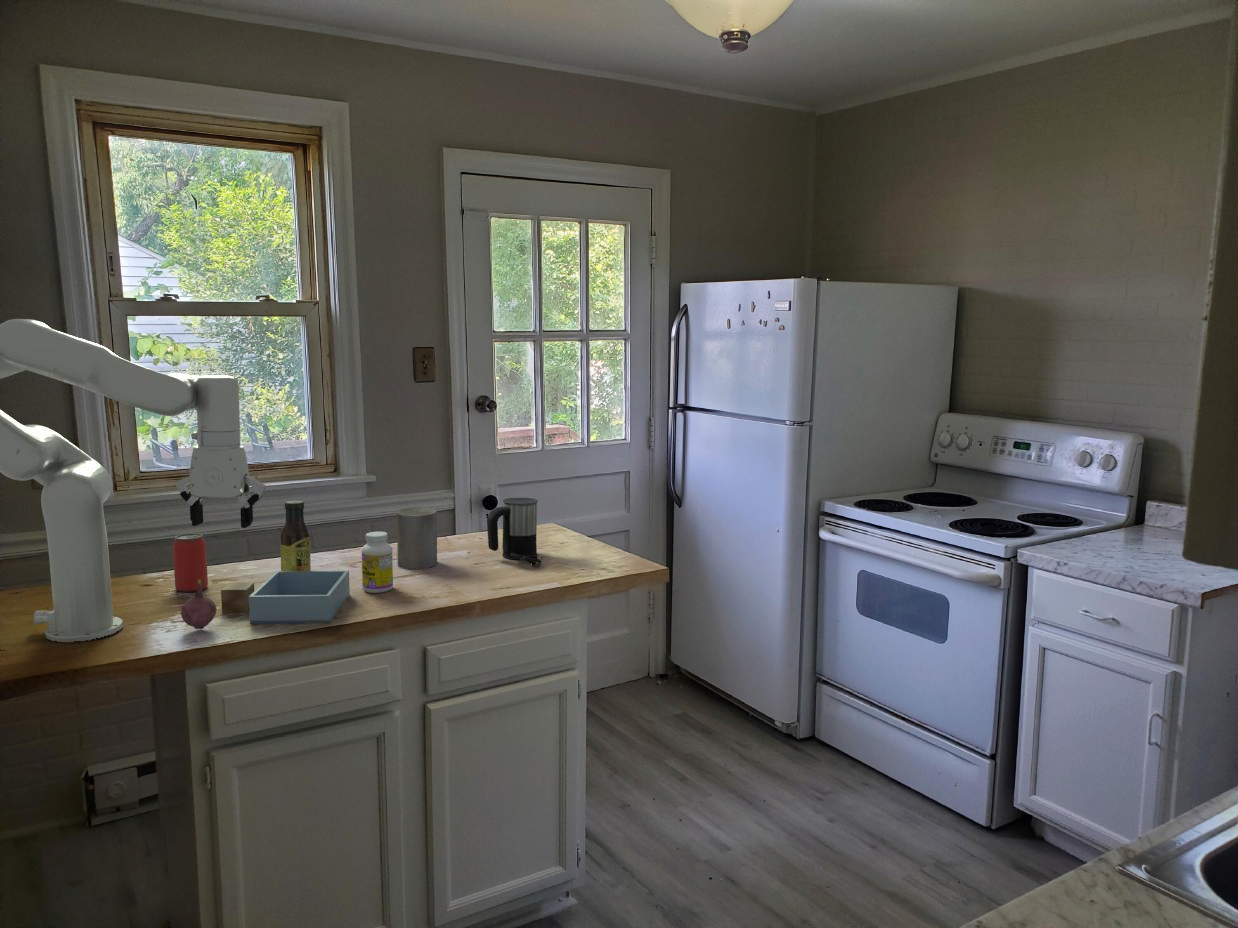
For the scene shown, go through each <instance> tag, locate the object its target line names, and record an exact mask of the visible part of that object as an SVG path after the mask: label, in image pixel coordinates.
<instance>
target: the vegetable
mask: <svg viewBox="0 0 1238 928" xmlns="http://www.w3.org/2000/svg"><path fill="white" fill-rule="evenodd" d="M198 581H199V582H197V589H196V591H195V594H194V595H193V597H191V598H190V599H188V600H187V601H185V602H184V604H183V605H182V607H181V610H180V616H181V619H182V621H183V622H184V623H185V624H186V625H188V626H190V627H192V628H194V629H196V630H199V629H200V630H201V631H202V630H203V629H205V627H207V626H208V625H209V624H210V623H211V622H212V621H213V620H214V618H215V616H216V614H217V605H216V603H215V602H214V601H213V600H212V599H211V598H209V597H207V596H204V595H203V589H202V584H201V580H198Z"/></svg>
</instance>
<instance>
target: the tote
mask: <svg viewBox="0 0 1238 928" xmlns="http://www.w3.org/2000/svg"><path fill="white" fill-rule="evenodd" d="M350 589H351V587H350V570H311V571H281V570H276V571H274V573H273V574H271V575H270V576H269V577H268V578H267V579H266V580H264V582H262V584H260V586H259V587H258V588H256V589H254V592H253V593H252V594H251V595H250V596H249V612H248V613H249V624H250V625H270V624H271V625H279V624H281V625H283V624H284V625H285V624H331V623H332V621H333V620H334V619H335V617H336V616H337V614H338V613H339V611H340V610H341V608H342V607H343V606H344V605H345V603H346V601H347V600H348V598H350V595H351V594H350V593H351V591H350Z"/></svg>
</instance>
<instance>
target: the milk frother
mask: <svg viewBox="0 0 1238 928" xmlns="http://www.w3.org/2000/svg"><path fill="white" fill-rule="evenodd" d="M502 502H503V503H504V504H503V506H499V507H495V508H493V509H492V510H491V511H490V512H489V513H488V515H487V518H486V527H487V531H486V532H487V541H488V549H489V550H492V551H494V552H495V551H498V550H499V527H498V524H499V523H498V521H499V519H500V518H501V517H502V557H504V558H505V559H509V560H517V561H518V559H519V560H520V559H522V561H524V562H526V563H528V564H530V565H531V564H532V565H531V566H534V565H535V566H536V564H541V563H542V560H541V558H539V557H538V555H539V554H538V551H537V549H538V548H537V534H538V533H537V532H538V531H537V529H538V528H537V526H538V525H537V519H538V516H537V515H538V502H539V500H538V499H536V498H532V497H509V498H504V499H503V500H502Z"/></svg>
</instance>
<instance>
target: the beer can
mask: <svg viewBox="0 0 1238 928" xmlns="http://www.w3.org/2000/svg"><path fill="white" fill-rule="evenodd" d="M172 545H173V546H172V557H173V558H172V559H173V572H174V573H173V574H174V575H173V577H174V587H175V589H176V590H177V591H178V592H182V593H193V592H195V593H196V589H197V582H199V581H198V580H201V584H202V590H204V589H206V588H208V585H209V579H208V578H209V577H208V560H207V559H208V558H207V544H206V541H205V539H204V537H203V534H202V533H196V532H195V533H183V534H179V535H175V537H174V542H173V544H172Z"/></svg>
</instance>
